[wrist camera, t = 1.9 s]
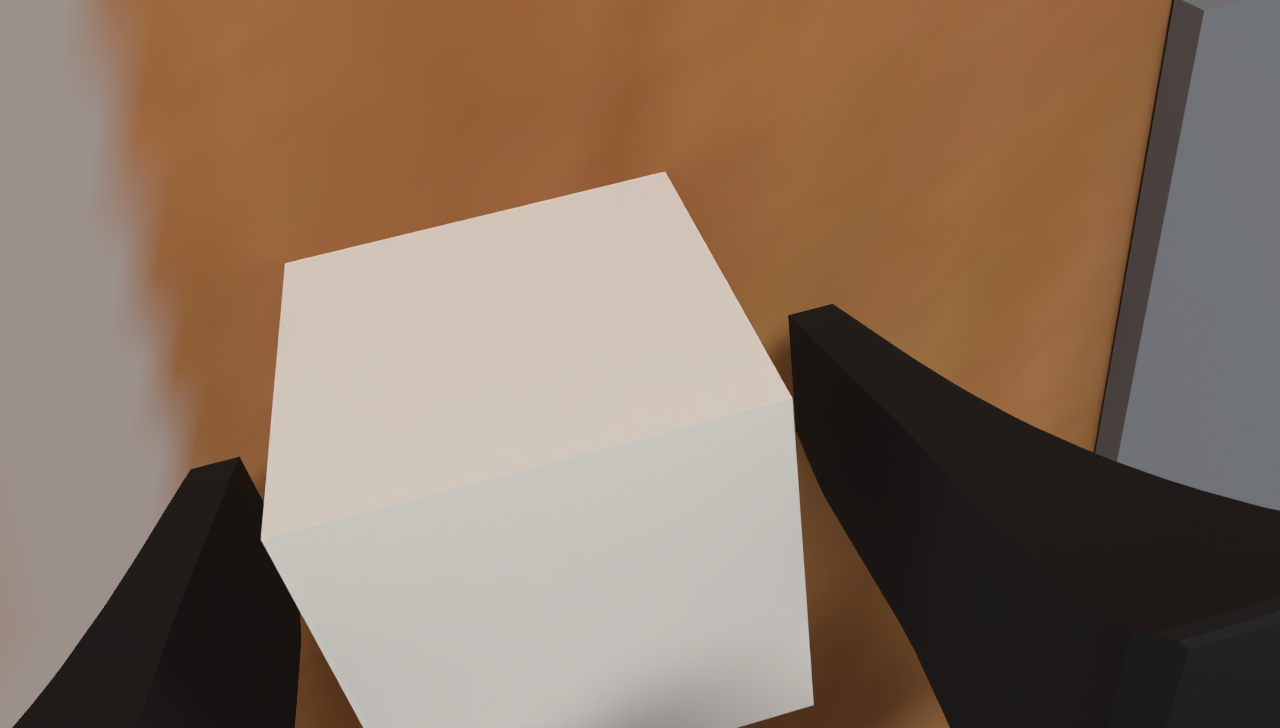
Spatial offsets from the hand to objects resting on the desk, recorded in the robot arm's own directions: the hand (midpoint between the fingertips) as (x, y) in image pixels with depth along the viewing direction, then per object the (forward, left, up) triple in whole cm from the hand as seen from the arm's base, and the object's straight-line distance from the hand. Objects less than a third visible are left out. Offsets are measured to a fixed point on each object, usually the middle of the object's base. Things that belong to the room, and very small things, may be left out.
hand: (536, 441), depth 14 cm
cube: (0, 0, -2) cm, 2 cm away
